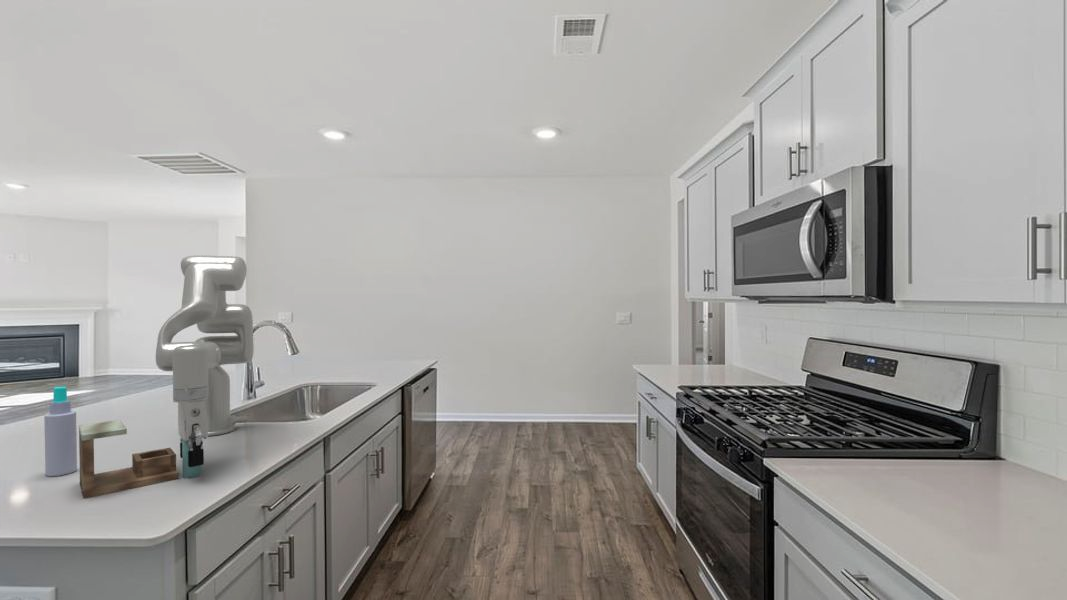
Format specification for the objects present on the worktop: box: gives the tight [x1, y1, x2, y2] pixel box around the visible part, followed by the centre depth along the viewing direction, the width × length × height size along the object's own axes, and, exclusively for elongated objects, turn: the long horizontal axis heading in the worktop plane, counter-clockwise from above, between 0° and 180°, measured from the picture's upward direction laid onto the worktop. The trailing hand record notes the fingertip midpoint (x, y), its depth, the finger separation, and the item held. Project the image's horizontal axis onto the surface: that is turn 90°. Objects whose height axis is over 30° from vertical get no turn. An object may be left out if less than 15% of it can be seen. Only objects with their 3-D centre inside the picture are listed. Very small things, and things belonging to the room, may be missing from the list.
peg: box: [181, 437, 202, 479], centre depth 133 cm, size 4×4×10 cm
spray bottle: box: [44, 386, 78, 477], centre depth 134 cm, size 6×6×22 cm
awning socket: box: [78, 419, 179, 499], centre depth 129 cm, size 18×13×14 cm
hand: (191, 461), depth 133 cm, fingers open, 9 cm apart
